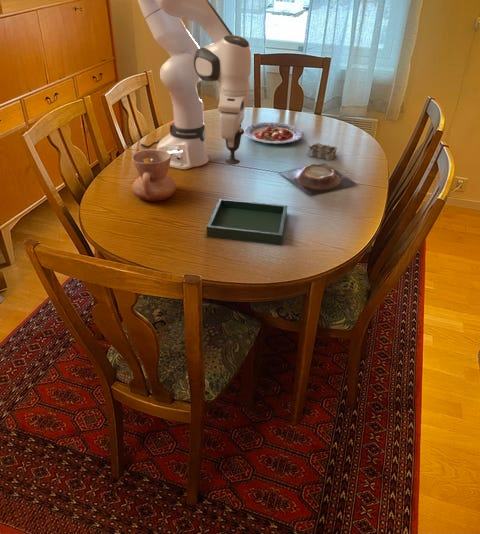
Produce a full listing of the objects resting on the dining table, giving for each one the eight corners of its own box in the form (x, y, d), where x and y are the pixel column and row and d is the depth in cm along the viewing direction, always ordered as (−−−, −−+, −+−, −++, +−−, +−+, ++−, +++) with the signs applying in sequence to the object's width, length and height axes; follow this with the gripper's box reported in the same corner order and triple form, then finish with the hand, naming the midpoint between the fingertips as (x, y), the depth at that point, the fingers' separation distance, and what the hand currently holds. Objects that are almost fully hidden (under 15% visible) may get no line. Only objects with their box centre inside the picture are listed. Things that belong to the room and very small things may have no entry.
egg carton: (306, 155, 185) (307, 146, 183) (313, 149, 190) (314, 140, 188) (330, 161, 181) (332, 151, 178) (337, 155, 186) (339, 145, 184)
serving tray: (206, 236, 134) (206, 226, 132) (219, 207, 148) (219, 198, 146) (281, 245, 131) (281, 235, 129) (286, 214, 145) (287, 205, 143)
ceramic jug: (142, 182, 161) (137, 144, 153) (182, 186, 160) (179, 147, 151) (124, 206, 147) (119, 165, 138) (168, 210, 145) (165, 169, 137)
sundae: (227, 167, 142) (228, 120, 133) (218, 159, 147) (219, 112, 138) (246, 163, 145) (248, 117, 136) (236, 155, 149) (238, 110, 140)
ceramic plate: (264, 123, 215) (265, 116, 214) (312, 135, 204) (313, 129, 202) (232, 138, 198) (232, 131, 197) (282, 152, 187) (283, 145, 185)
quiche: (324, 164, 178) (326, 154, 176) (357, 185, 164) (359, 174, 162) (279, 173, 171) (280, 163, 168) (309, 196, 156) (310, 185, 154)
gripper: (230, 87, 142) (229, 130, 151) (216, 107, 126) (216, 154, 134) (250, 89, 142) (247, 132, 150) (239, 109, 125) (237, 156, 134)
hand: (232, 142), depth 142 cm, fingers closed on sundae, 5 cm apart
